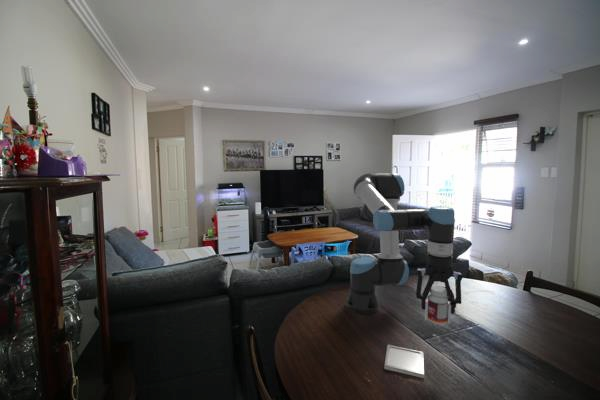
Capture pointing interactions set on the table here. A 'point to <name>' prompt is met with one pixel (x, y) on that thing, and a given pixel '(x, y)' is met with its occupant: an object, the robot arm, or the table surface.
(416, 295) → the robot arm
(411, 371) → the coaster
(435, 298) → the pill bottle
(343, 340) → the table surface
